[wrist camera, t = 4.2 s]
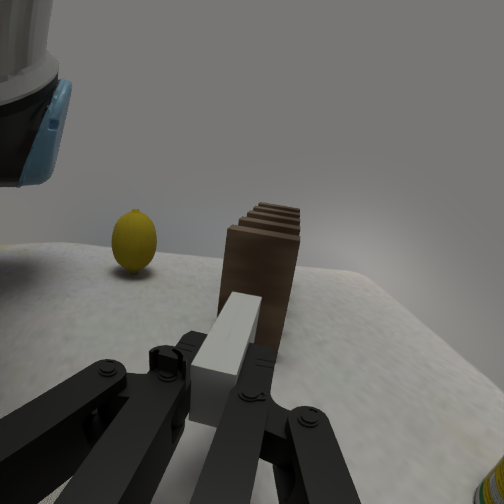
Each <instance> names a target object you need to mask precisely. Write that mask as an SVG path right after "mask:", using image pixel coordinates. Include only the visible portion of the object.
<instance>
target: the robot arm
mask: <svg viewBox="0 0 504 504" xmlns="http://www.w3.org/2000/svg"><path fill="white" fill-rule="evenodd" d="M52 4H53V0H0V187H17V188H20V187H21V186H25V185H26V186H27V185H39V184H42V183H44V182H46V181H47V180H48V179H49V178H50V177H51V175H52V173H53V171H54V167H55V163H56V159H57V155H58V151H59V146H60V142H61V137H62V133H63V128H64V124H65V119H66V115H67V110H68V106H69V101H70V96H71V87H72V83H71V82H70V81H67V80H65V79H64V78H62V79H60V80H58V69H59V63H58V60H57V59H56V57H54V56H53V55H52V54H51V53H50V52H48V51H47V49H46V45H47V36H48V29H49V22H50V16H51V9H52ZM261 299H262V297H258V296H253V295H248V294H243V293H237V292H232V293H231V295H230V297H229V298H228V300H227V302H226V304H225V305H224V307H223V309H222V311H221V313H220V314H219V316H218V318H217V320H216V321H215V323H214V325H213V327H212V328H211V330H210V332H209V334H204V333H200V332H195V331H190V332H188V333H186V334H185V335H183V336H182V338H181V339H180V340H179V343H177V345H176V346H168V345H164V346H157V347H154V348H153V349H151V350H150V351H149V366H150V370H149V372H148V373H147V374H135V373H126V369H125V366H124V365H123V364H122V363H120V362H118V361H116V360H110V359H105V360H99V361H97V362H95V363H93V364H91V365H90V366H88V367H86V368H85V369H83V370H82V371H80V372H78V373H77V374H75V375H73V376H72V377H70V378H68V379H67V380H65V381H63V382H62V383H60V384H58V385H57V386H55V387H53V388H52V389H50V390H48V391H47V392H45V393H43V394H42V395H40V396H38V397H37V398H35V399H33V400H32V401H30V402H28V403H27V404H25V405H23V406H22V407H20V408H18V409H17V410H15V411H13V412H12V413H10V414H8V415H7V416H5V417H3V418H2V419H0V504H38V503H39V502H40V501H41V500H43V499H44V498H45V497H47V496H48V495H49V494H50V493H52V492H53V491H54V490H56V489H57V488H58V487H59V486H61V485H62V484H63V483H64V482H66V481H67V480H68V479H69V478H71V477H72V476H73V477H72V478H71V479H70V481H69V482H68V484H67V485H66V487H65V488H64V489H63V491H62V492H61V494H60V495H59V496H58V498H57V499H56V501H55V502H54V503H53V504H150V502H151V500H152V498H153V496H154V494H155V492H156V489H157V487H158V485H159V483H160V481H161V479H162V477H163V474H164V472H165V470H166V468H167V466H168V464H169V462H170V459H171V457H172V455H173V453H174V451H175V449H176V447H177V444H178V442H179V440H180V438H181V436H182V434H183V431H184V428H185V419H186V417H187V415H188V412H189V420H190V421H194V422H197V423H201V424H205V425H209V426H213V427H217V430H216V433H215V436H214V438H213V441H212V444H211V447H210V450H209V452H208V455H207V458H206V461H205V463H204V466H203V469H202V472H201V474H200V477H199V480H198V482H197V485H196V488H195V491H194V493H193V496H192V499H191V501H190V504H250V499H251V495H252V490H253V485H254V480H255V475H256V470H257V465H258V460H259V458H261V459H263V460H265V461H267V462H269V463H272V464H273V472H274V478H275V483H276V489H277V494H278V500H279V504H361V502H360V499H359V497H358V494H357V491H356V489H355V486H354V483H353V481H352V478H351V476H350V473H349V470H348V468H347V465H346V463H345V460H344V458H343V455H342V452H341V450H340V447H339V445H338V442H337V439H336V437H335V434H334V432H333V429H332V427H331V424H330V422H329V419H328V417H327V416H326V414H325V413H323V412H322V411H321V410H319V409H317V408H314V407H310V406H301V407H296V408H295V409H293V410H291V411H290V410H287V409H285V408H283V407H281V406H279V405H278V404H276V403H275V402H274V401H273V399H272V397H271V395H270V390H271V384H272V378H273V372H274V366H275V359H276V353H275V351H274V349H273V347H270V346H265V345H260V344H254V339H255V334H256V328H257V322H258V316H259V310H260V304H261Z"/></svg>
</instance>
